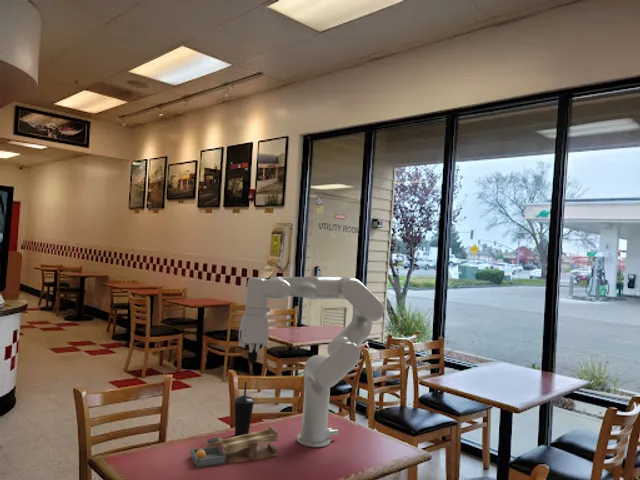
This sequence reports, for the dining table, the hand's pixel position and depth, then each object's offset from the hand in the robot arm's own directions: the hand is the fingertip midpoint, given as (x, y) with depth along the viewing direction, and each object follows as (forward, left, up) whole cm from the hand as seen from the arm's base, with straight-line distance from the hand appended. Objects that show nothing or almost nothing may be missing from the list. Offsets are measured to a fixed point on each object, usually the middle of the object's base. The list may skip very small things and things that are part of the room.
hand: (251, 362), depth 177 cm
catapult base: (+2, +9, -29) cm, 31 cm away
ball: (+19, +9, -27) cm, 34 cm away
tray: (+16, +9, -29) cm, 34 cm away
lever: (+4, +7, -25) cm, 27 cm away
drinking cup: (-1, -8, -29) cm, 30 cm away
